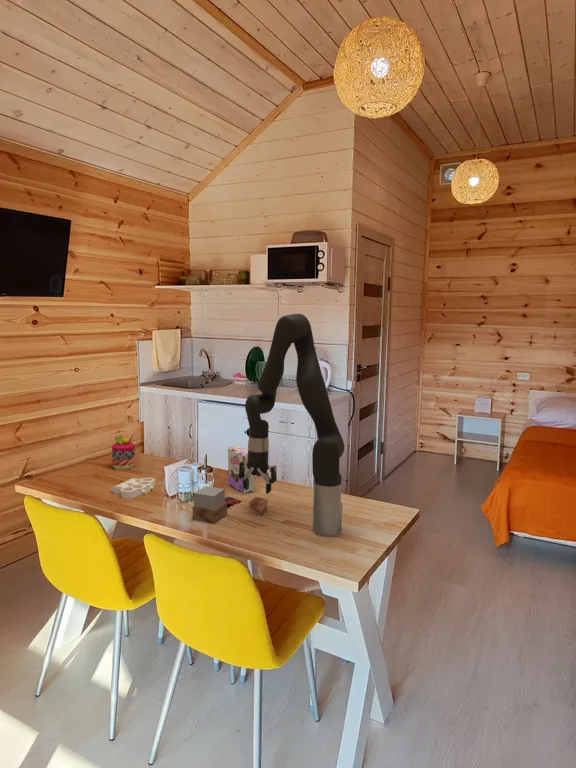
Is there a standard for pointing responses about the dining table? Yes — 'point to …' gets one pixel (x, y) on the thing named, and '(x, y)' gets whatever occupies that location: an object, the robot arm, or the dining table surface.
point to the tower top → (209, 497)
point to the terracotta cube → (258, 506)
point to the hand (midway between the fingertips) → (257, 491)
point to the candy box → (234, 460)
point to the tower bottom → (210, 514)
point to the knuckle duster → (134, 487)
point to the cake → (123, 454)
